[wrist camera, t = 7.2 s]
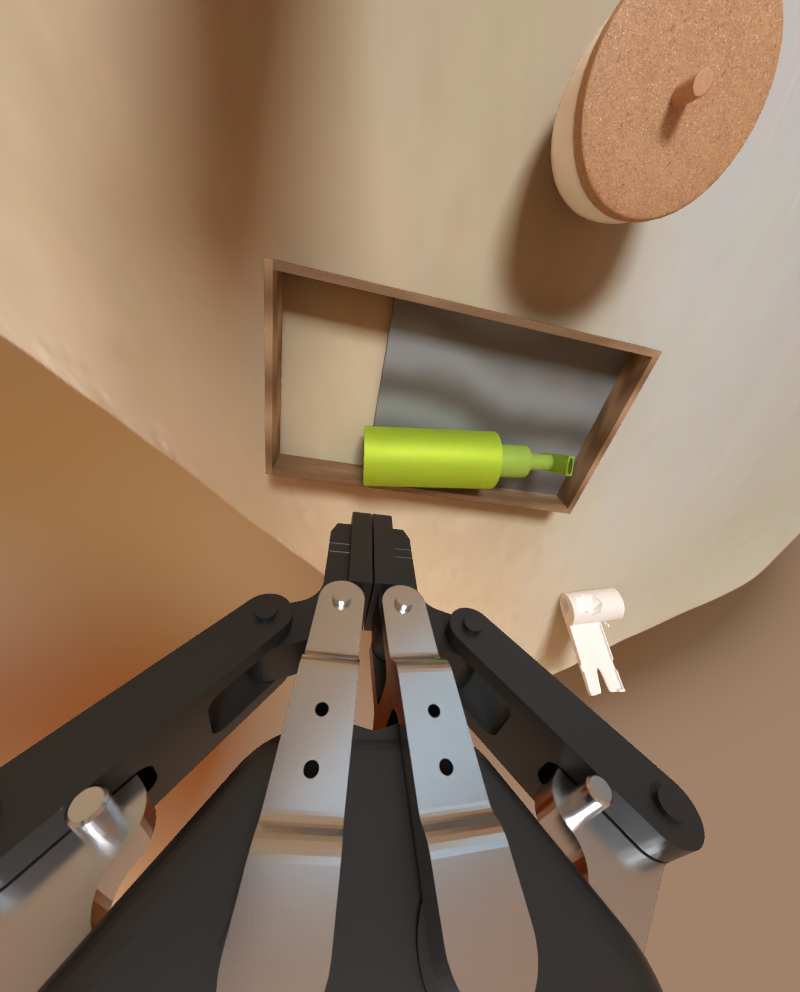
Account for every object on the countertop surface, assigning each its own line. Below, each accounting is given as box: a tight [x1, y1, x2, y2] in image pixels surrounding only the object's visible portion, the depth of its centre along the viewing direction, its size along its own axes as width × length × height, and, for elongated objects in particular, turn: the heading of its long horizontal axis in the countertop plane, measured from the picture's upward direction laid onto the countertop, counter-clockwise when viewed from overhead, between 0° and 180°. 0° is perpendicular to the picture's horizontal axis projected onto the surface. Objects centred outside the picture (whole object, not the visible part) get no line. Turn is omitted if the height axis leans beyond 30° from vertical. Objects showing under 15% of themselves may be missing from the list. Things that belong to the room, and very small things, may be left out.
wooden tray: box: [264, 258, 662, 514], centre depth 34 cm, size 18×34×4 cm, turn 79°
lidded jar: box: [551, 0, 783, 224], centre depth 21 cm, size 11×11×9 cm
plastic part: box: [560, 587, 625, 696], centre depth 50 cm, size 8×10×12 cm
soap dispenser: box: [363, 426, 574, 489], centre depth 34 cm, size 6×7×20 cm
